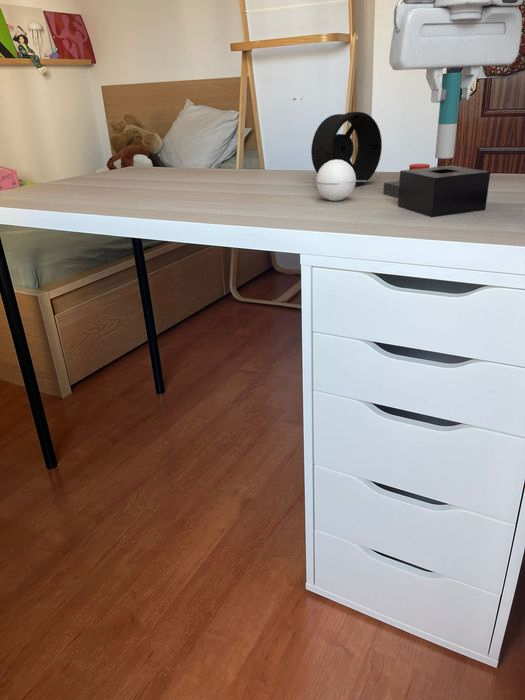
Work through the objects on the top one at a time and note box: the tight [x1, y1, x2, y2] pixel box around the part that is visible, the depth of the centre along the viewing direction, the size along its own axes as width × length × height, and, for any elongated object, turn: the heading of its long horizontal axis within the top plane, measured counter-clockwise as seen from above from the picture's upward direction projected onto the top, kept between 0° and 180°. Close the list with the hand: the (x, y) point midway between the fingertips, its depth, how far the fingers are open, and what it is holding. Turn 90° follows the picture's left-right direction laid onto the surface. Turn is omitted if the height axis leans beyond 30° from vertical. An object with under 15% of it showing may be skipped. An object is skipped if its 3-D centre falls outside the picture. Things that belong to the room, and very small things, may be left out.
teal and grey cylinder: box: [434, 72, 463, 160], centre depth 82 cm, size 3×3×12 cm
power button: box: [408, 163, 431, 170], centre depth 98 cm, size 4×4×2 cm
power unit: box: [382, 180, 400, 199], centre depth 99 cm, size 10×8×4 cm
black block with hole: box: [397, 165, 491, 218], centre depth 86 cm, size 10×10×6 cm
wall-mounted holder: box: [310, 111, 383, 188], centre depth 111 cm, size 14×14×10 cm
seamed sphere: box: [315, 160, 356, 202], centre depth 96 cm, size 10×7×7 cm
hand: (450, 101), depth 81 cm, fingers closed on teal and grey cylinder, 3 cm apart
